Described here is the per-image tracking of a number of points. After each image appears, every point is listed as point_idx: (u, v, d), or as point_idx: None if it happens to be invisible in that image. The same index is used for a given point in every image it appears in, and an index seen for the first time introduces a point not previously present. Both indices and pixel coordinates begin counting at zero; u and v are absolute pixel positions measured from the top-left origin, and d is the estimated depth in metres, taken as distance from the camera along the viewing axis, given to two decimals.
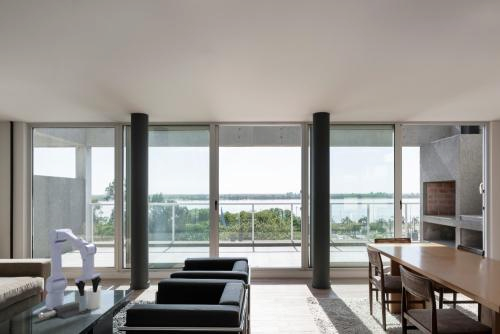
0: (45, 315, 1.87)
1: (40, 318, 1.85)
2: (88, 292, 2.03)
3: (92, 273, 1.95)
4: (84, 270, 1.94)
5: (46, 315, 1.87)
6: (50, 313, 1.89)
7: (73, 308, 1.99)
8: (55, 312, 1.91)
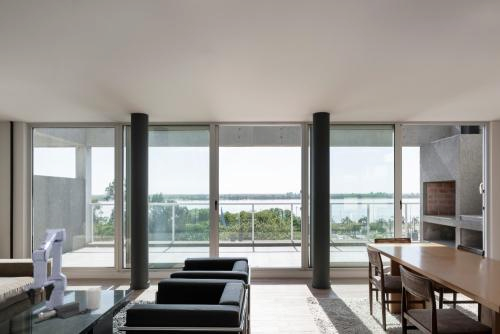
0: (45, 315, 1.87)
1: (40, 318, 1.85)
2: (88, 292, 2.03)
3: (44, 280, 1.84)
4: (35, 277, 1.83)
5: (46, 315, 1.87)
6: (50, 313, 1.89)
7: (73, 308, 1.99)
8: (55, 312, 1.91)
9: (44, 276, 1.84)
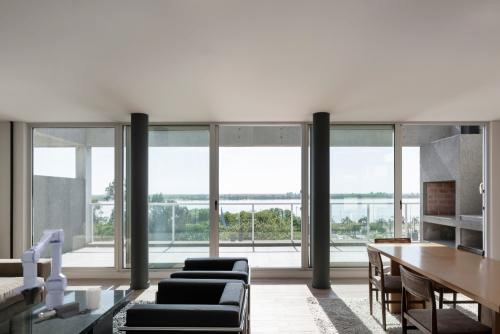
0: (45, 315, 1.87)
1: (40, 318, 1.85)
2: (88, 292, 2.03)
3: (34, 282, 1.82)
4: (25, 279, 1.80)
5: (46, 315, 1.87)
6: (50, 313, 1.89)
7: (73, 308, 1.99)
8: (55, 312, 1.91)
9: (34, 278, 1.82)
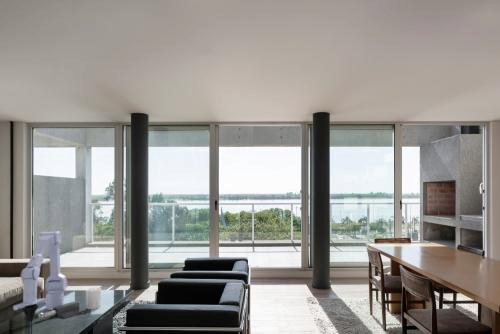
0: (45, 315, 1.87)
1: (40, 318, 1.85)
2: (88, 292, 2.03)
3: (34, 299, 1.81)
4: (25, 296, 1.80)
5: (46, 315, 1.87)
6: (50, 313, 1.89)
7: (73, 308, 1.99)
8: (55, 312, 1.91)
9: (34, 294, 1.81)
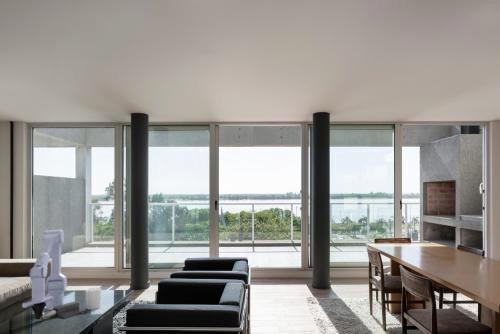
0: (46, 315, 1.87)
1: (41, 318, 1.86)
2: (88, 292, 2.03)
3: (42, 297, 1.85)
4: (33, 294, 1.83)
5: (47, 315, 1.88)
6: (51, 313, 1.90)
7: (73, 308, 1.99)
8: (56, 312, 1.92)
9: (42, 292, 1.85)
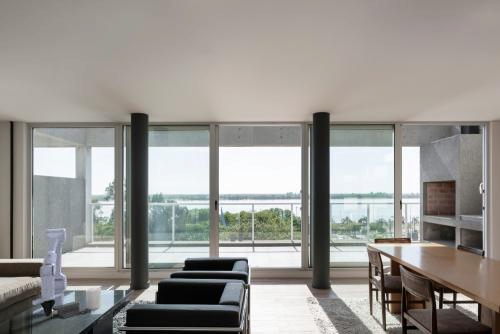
0: (55, 312, 1.91)
1: (50, 315, 1.90)
2: (88, 292, 2.03)
3: (51, 294, 1.89)
4: (43, 291, 1.87)
5: (56, 312, 1.92)
6: None
7: (73, 308, 1.99)
8: None
9: (51, 290, 1.89)
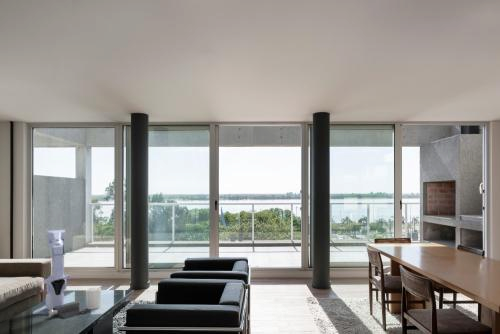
0: (55, 312, 1.91)
1: (50, 315, 1.90)
2: (88, 292, 2.03)
3: (61, 274, 1.95)
4: (53, 271, 1.94)
5: (56, 312, 1.92)
6: None
7: (73, 308, 1.99)
8: None
9: (61, 270, 1.95)
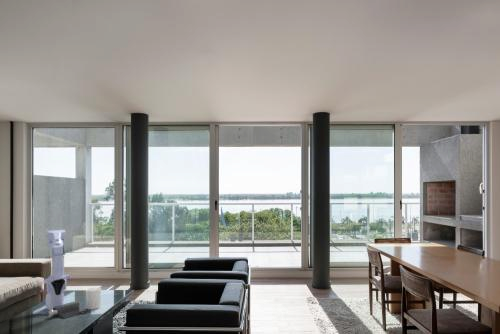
0: (55, 312, 1.91)
1: (50, 315, 1.90)
2: (88, 292, 2.03)
3: (61, 274, 1.95)
4: (53, 271, 1.94)
5: (56, 312, 1.92)
6: None
7: (73, 308, 1.99)
8: None
9: (61, 270, 1.96)
